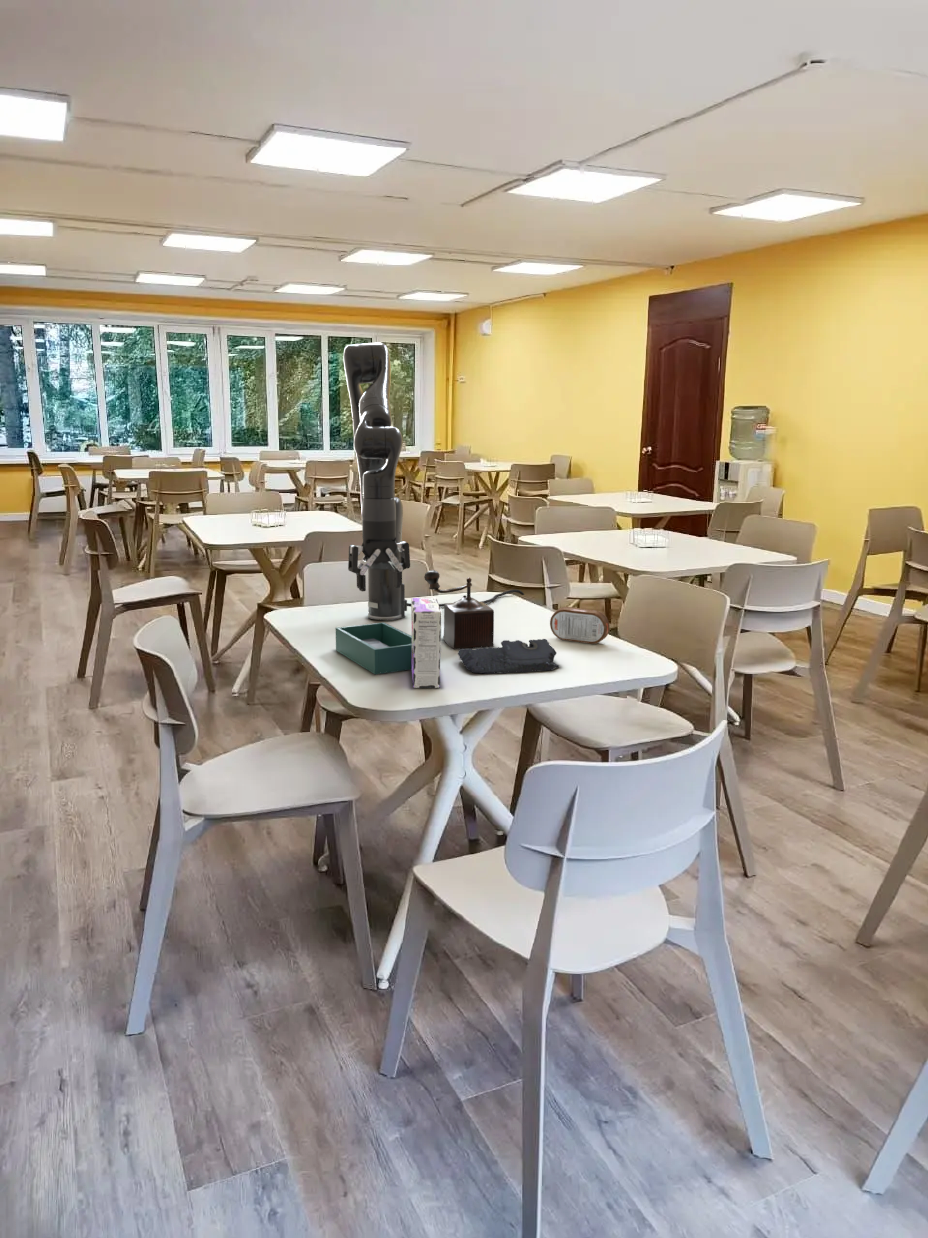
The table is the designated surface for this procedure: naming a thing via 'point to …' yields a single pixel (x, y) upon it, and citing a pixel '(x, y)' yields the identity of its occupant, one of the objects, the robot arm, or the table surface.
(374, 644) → the remote
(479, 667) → the dark slate chunk
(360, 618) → the table surface
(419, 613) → the candy box
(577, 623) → the tin
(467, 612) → the manual coffee grinder
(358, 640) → the bin
